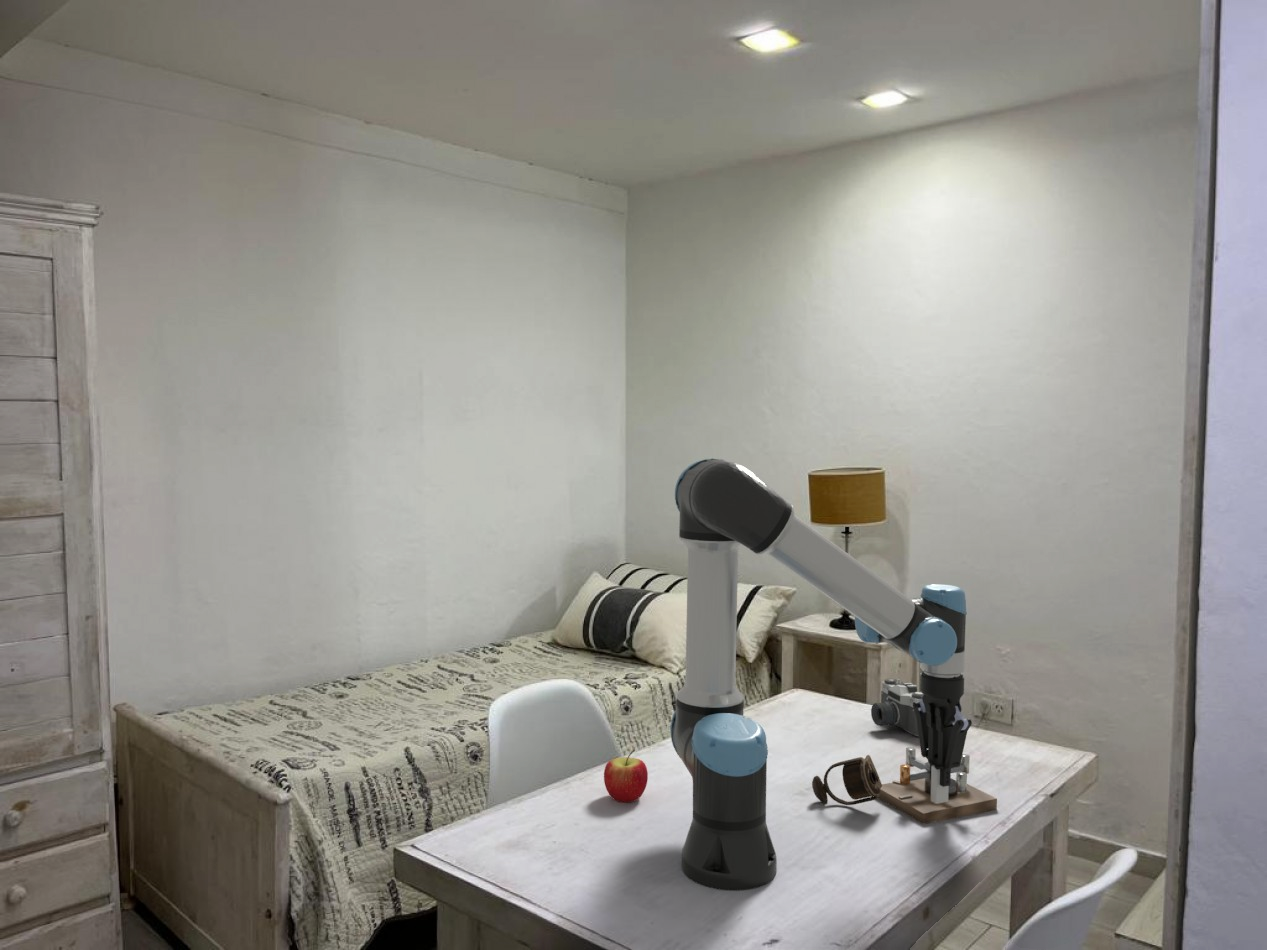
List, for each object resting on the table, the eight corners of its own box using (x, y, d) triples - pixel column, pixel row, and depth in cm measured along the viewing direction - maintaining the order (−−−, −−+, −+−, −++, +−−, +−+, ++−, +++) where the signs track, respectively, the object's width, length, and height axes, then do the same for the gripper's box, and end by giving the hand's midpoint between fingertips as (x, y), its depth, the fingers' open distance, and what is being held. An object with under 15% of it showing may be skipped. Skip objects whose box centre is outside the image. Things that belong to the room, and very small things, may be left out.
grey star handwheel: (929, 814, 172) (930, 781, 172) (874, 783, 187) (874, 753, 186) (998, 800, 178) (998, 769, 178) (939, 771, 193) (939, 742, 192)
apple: (639, 811, 178) (640, 758, 178) (596, 805, 181) (596, 752, 181) (653, 794, 186) (653, 743, 186) (612, 789, 189) (612, 738, 188)
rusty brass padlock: (883, 820, 175) (884, 765, 174) (811, 814, 177) (811, 760, 177) (881, 804, 182) (882, 752, 181) (812, 798, 184) (812, 747, 184)
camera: (857, 718, 233) (858, 677, 233) (894, 714, 236) (895, 674, 236) (891, 739, 218) (892, 695, 218) (931, 735, 221) (932, 692, 220)
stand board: (923, 824, 173) (923, 811, 173) (873, 795, 186) (873, 783, 186) (996, 809, 180) (997, 797, 179) (943, 782, 193) (944, 770, 192)
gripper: (985, 679, 169) (981, 811, 170) (934, 661, 181) (931, 785, 182) (950, 683, 166) (948, 818, 167) (901, 665, 178) (899, 791, 179)
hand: (939, 801), depth 175 cm, fingers closed
